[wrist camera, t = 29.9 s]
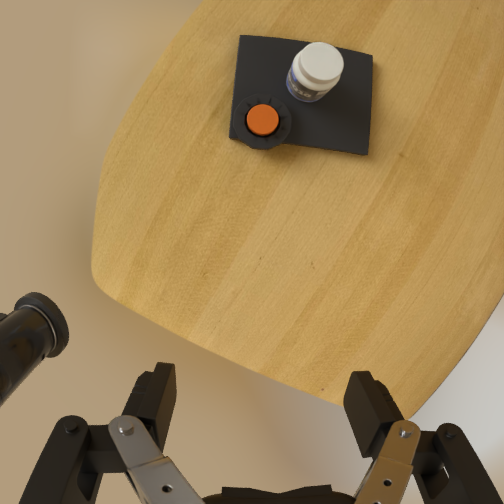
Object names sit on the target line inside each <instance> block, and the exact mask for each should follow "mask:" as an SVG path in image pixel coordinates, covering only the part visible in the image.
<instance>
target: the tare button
mask: <svg viewBox="0 0 504 504" xmlns="http://www.w3.org/2000/svg"><path fill="white" fill-rule="evenodd" d="M278 121H279V118H278V114H277V112H276V110H275V109H274V108H272V107H271V106H269V105H265V104H260V105H256V106H254V107H253V108H252V109H251V110H250V111H249V113H248V116H247V123H248V127H249V128H250V130H251V131H252V132H253V133H255V134H257V135H268V134H270V133H272V132H273V131H274V130H275V129H276V127H277V125H278Z"/></svg>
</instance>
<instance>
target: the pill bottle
mask: <svg viewBox="0 0 504 504" xmlns="http://www.w3.org/2000/svg"><path fill="white" fill-rule="evenodd" d="M343 67H344V62H343V58H342V56H341V54H340V52H339V51H338V50H337V49H336V48H335V47H333V46H332V45H330V44H327V43H323V42H314V43H311V44H309V45H307V46H306V47H305V48H304V49H303V50H302V51H300V52H299V53H298V54H297V55H296V56H295V58H294V60H293V63H292V65H291V68H290V71H289V73H288V75H287V81H286V82H287V87H288V90H289V91H290V93H291V94H292V95H293V96H294V97H295V98H296V99H298V100H300V101H304V102H314V101H317V100H319V99H321V98H322V97H323V96H324V95H325V94H326V93H327V92H328V91H329V90H331V89H332V88H333V87H334V86H335V85H336V84H337V82H338V81H339V79H340V75H341V72H342V70H343Z"/></svg>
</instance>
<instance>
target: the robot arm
mask: <svg viewBox="0 0 504 504" xmlns="http://www.w3.org/2000/svg"><path fill="white" fill-rule="evenodd" d="M56 345H57V332H56V329H55V326H54V324H53V322H52V321H51V319H50V318H49V316H48V315H47V314H46V313H45V312H44V311H43V310H42V309H41V308H39V307H37V306H36V305H33V304H25V305H23V306H22V307H20V308H19V309H18V308H16V309H15V310H14V311H12V312H11V313H9V314H8V315H6V314H3V313H0V407H1V406H2V405H3V403H4V402H5V401H6V400H7V399H8V398H9V396H10V395H11V394H12V393H13V392H14V391H15V390H16V388H17V387H18V386H19V385H20V384H21V383H22V382H23V381H24V380H25V379H26V378H27V377H28V375H29V374H30V373H31V372H32V371H33V370H34V369H35V368H36V367H37V366H38V365H39V364H40V363H41V361H42V360H43V359H44V358H45V357H46V356H47V355H48V354H49V353H50V352H52V351H53V350H54V349H55V347H56ZM176 393H177V390H176V375H175V365H174V364H171V363H163V362H158V363H157V364H156V367H155V370H154V372H148V371H145V372H144V373H143V374H142V375H141V376H139V377H138V379H137V381H136V383H135V387H134V388H133V390H132V393H131V394H130V397H129V399H128V401H127V403H126V406H125V408H124V410H123V412H122V415H121V416H119V417H116V418H114V419H113V420H112V421H111V422H110V423H109V424H108V425H88V424H87V422H86V421H85V420H84V419H83V418H81V417H79V416H74V415H70V416H65V417H63V418H61V419H60V420H59V421H58V422H57V423H56V425H55V427H54V429H53V431H52V433H51V435H50V437H49V439H48V441H47V443H46V445H45V447H44V449H43V451H42V453H41V455H40V457H39V460H38V461H37V463H36V466H35V468H34V470H33V472H32V474H31V476H30V479H29V481H28V483H27V485H26V488H25V490H24V492H23V495H22V497H21V499H20V502H19V504H95V501H96V497H97V494H98V490H99V487H100V483H101V480H102V476H103V473H123V472H124V474H125V475H126V477H127V479H128V481H129V483H130V484H131V486H132V488H133V490H134V491H135V493H136V495H137V496H138V498H139V500H140V501H141V503H142V504H400V502H401V500H402V497H403V495H404V492H405V490H406V487H407V484H408V482H409V479H410V476H411V474H413V475H414V477H415V480H416V483H417V485H418V488H419V491H420V493H421V496H422V498H423V501H424V504H503V502H502V500H501V498H500V496H499V494H498V492H497V490H496V488H495V487H494V485H493V483H492V481H491V479H490V477H489V476H488V474H487V472H486V470H485V469H484V467H483V465H482V463H481V461H480V460H479V458H478V456H477V454H476V453H475V451H474V449H473V448H472V446H471V445H470V443H469V441H468V439H467V438H466V436H465V434H464V433H463V431H462V430H461V428H460V427H458V426H456V425H455V424H451V423H444V424H442V425H440V426H439V427H438V429H437V431H421V430H420V428H419V427H418V426H417V425H416V424H415V423H413V422H411V421H408V420H405V419H404V417H403V416H402V414H401V412H400V410H399V409H398V407H397V405H396V403H395V402H394V401H393V398H392V396H391V395H390V393H389V391H388V389H387V388H386V386H385V385H383V384H382V383H381V382H380V381H379V380H375V381H374V379H373V377H372V375H371V373H370V372H369V371H353V372H352V373H351V376H350V379H349V382H348V386H347V389H346V392H345V395H344V401H343V403H344V408H345V411H346V414H347V417H348V419H349V422H350V425H351V427H352V430H353V433H354V436H355V438H356V441H357V444H358V446H359V449H360V452H361V455H362V457H363V458H367V457H372V459H373V462H372V463H371V465H370V467H369V469H368V471H367V473H366V475H365V477H364V479H363V480H362V482H361V484H360V486H359V488H358V489H357V491H356V493H355V494H354V496H353V497H352V496H350V495H347V494H344V493H340V492H335V491H332V488H331V485H321V486H310V487H303V488H299V489H295V490H291V491H288V492H284V493H272V492H267V491H261V490H256V489H252V488H233V487H222V493H221V494H215V495H211V496H207V497H204V498H202V499H201V498H200V496H199V495H198V494H197V493H196V492H195V490H194V489H193V488H192V487H191V485H190V484H189V483H188V481H187V480H186V479H185V477H184V476H183V475H182V474H181V472H180V471H179V470H178V468H177V467H176V466H175V464H174V463H173V461H172V460H171V459H170V458H169V457H168V456H166V457H165V456H164V455H163V454H162V453H163V449H164V445H165V441H166V437H167V433H168V429H169V425H170V421H171V417H172V414H173V410H174V406H175V402H176ZM444 466H445V469H446V471H447V473H448V475H449V478H448V476H447V474H446V472H445V470H444V468H443V467H444Z"/></svg>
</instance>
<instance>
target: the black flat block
mask: <svg viewBox="0 0 504 504" xmlns="http://www.w3.org/2000/svg"><path fill="white" fill-rule="evenodd" d="M309 44H311V42H305V41H298V40H291V39H283V38H273V37H263V36H250V35H240V38H239V46H238V55H237V63H236V72H235V81H234V90H233V100H232V110H231V120H230V130H229V138H230V139H239V140H240V141H241V142H243V143H244V144H246V145H247V146H249V147H250V148H252V149H260V150H269V149H271V148H273V147H275V146H278V145H280V144H281V143H282V144H290V145H299V146H306V147H314V148H321V149H328V150H334V151H340V152H347V153H352V154H358V155H368V147H369V134H370V119H371V101H372V66H373V56H372V55H369V54H365V53H361V52H357V51H352V50H348V49H343V48H338V47H335V48H336V49H337V50H338V51H339V52H340V54H341V56H342V58H343V62H344V67H343V70H342V72H341V75H340V79H339V81H338V82H337V84H336V85H335V86H334V87H333V88H332V89H331V90H329V91H328V92H327V93H326V94H325V95H324V96H323V97H322V98H321V99H319V100H317V101H314V102H304V101H300V100H298V99H296V98H295V97H294V96H293V95H292V94H291V93H290V91H289V90H288V87H287V82H286V81H287V75H288V73H289V71H290V68H291V65H292V63H293V60H294V58H295V56H296V55H297V54H298V53H299V52H300V51H302V50H303V49H304V48H305V47H306V46H307V45H309ZM260 104H265V105H269V106H271V107H272V108H274V109H275V110H276V112H277V114H278V118H279V121H278V125H277V127H276V129H275V130H274V131H273V132H272V133H270V134H268V135H257V134H255V133H253V132H252V131H251V130H250V128H249V127H248V123H247V116H248V113H249V111H250V110H251V109H252V108H253V107H254V106H256V105H260Z"/></svg>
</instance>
